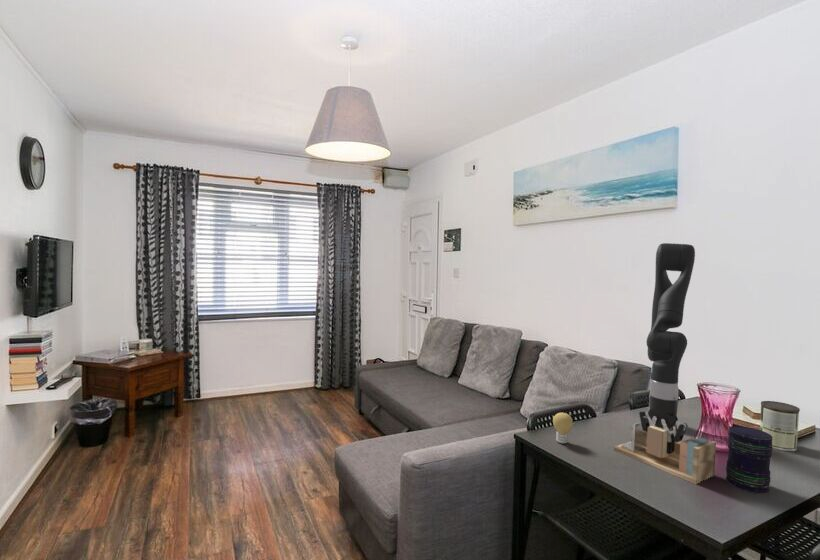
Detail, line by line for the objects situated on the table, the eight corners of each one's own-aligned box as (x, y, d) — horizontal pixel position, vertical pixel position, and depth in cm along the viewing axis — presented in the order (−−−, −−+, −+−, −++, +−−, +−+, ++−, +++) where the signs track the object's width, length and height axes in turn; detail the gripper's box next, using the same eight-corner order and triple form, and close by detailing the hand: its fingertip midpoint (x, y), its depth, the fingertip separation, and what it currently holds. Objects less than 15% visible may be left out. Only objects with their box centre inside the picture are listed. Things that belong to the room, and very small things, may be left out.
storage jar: (730, 472, 128) (733, 423, 127) (772, 486, 120) (776, 433, 120) (721, 483, 121) (724, 431, 121) (765, 498, 114) (769, 442, 113)
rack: (632, 443, 147) (634, 413, 146) (714, 475, 125) (716, 440, 125) (613, 449, 141) (615, 418, 141) (695, 484, 120) (697, 447, 120)
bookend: (633, 443, 144) (634, 417, 144) (646, 448, 141) (647, 421, 140) (621, 447, 141) (622, 420, 141) (633, 452, 137) (635, 424, 137)
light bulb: (567, 447, 142) (568, 417, 141) (548, 442, 146) (550, 412, 146) (574, 442, 146) (576, 413, 146) (556, 436, 151) (558, 408, 150)
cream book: (659, 447, 137) (660, 423, 136) (674, 453, 133) (675, 427, 132) (646, 452, 133) (647, 426, 133) (661, 458, 129) (662, 431, 129)
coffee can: (751, 437, 156) (754, 399, 155) (783, 440, 154) (786, 401, 154) (770, 449, 146) (773, 408, 145) (805, 452, 144) (807, 411, 144)
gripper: (695, 400, 128) (691, 456, 129) (647, 388, 140) (645, 439, 141) (681, 403, 124) (678, 461, 125) (634, 390, 137) (631, 443, 137)
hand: (660, 449), depth 133 cm, fingers closed on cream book, 4 cm apart
